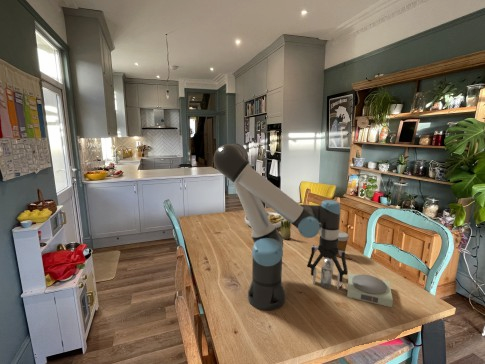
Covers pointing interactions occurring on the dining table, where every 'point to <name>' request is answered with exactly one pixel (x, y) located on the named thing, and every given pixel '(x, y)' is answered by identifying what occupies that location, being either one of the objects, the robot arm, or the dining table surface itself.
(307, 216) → the robot arm
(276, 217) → the bowl
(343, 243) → the disposable coffee cup
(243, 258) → the dining table surface
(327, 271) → the cylinder
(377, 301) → the kitchen scale
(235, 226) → the dining table surface
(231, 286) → the dining table surface
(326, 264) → the spacer
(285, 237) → the asparagus bundle
